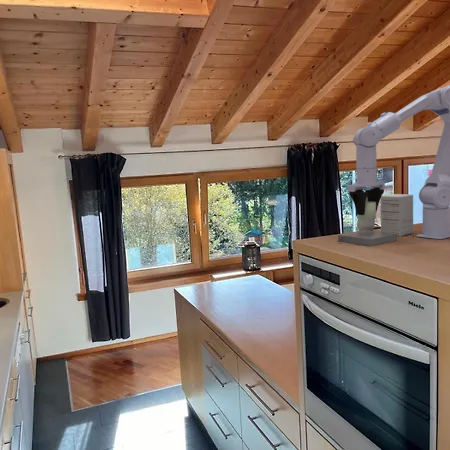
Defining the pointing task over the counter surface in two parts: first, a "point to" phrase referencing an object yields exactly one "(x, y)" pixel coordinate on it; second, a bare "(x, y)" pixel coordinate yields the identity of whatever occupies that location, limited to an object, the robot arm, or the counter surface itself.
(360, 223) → the salt shaker
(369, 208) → the green cylinder
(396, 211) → the supplement box
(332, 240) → the counter surface
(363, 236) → the slate base
